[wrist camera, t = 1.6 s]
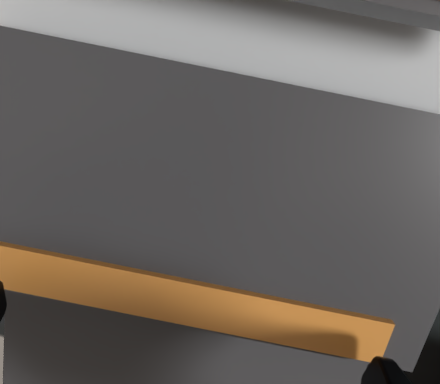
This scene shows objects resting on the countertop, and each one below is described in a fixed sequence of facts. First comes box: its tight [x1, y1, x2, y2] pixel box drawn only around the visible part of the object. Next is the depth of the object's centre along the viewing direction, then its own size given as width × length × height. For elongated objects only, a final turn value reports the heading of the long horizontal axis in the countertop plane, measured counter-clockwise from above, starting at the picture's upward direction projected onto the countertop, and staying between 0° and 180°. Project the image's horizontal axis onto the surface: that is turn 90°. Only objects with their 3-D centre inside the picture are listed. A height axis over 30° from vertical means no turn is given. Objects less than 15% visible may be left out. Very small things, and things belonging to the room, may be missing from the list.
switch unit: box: [0, 0, 440, 114], centre depth 13 cm, size 18×25×6 cm
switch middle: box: [0, 26, 440, 372], centre depth 9 cm, size 12×6×1 cm, turn 80°
